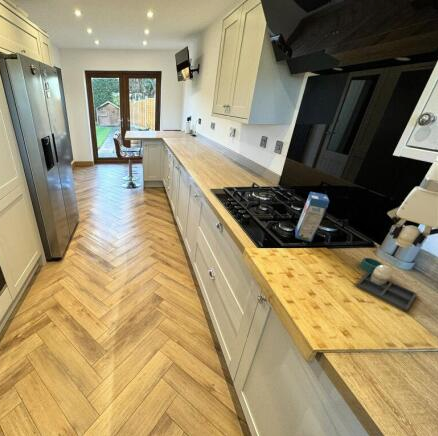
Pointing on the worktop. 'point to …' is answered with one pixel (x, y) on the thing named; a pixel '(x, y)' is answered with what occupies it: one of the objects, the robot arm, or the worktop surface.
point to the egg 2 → (407, 236)
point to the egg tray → (388, 292)
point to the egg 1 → (381, 274)
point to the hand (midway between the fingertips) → (404, 240)
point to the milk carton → (311, 216)
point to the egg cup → (369, 264)
